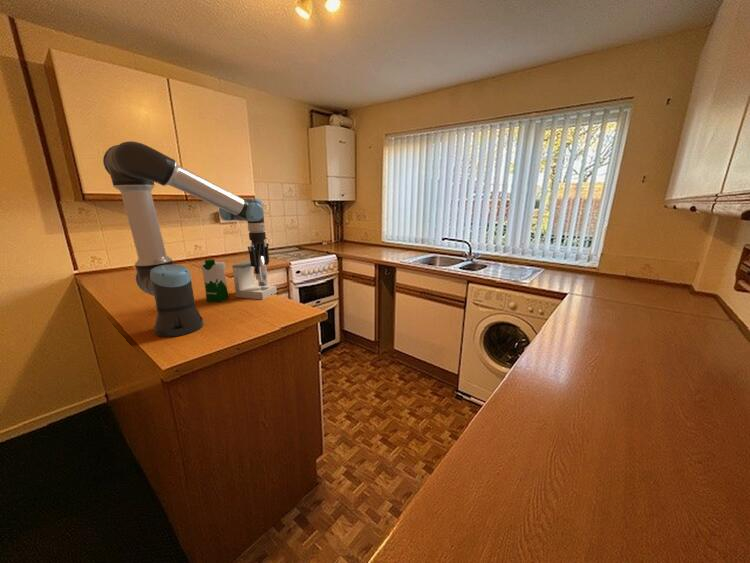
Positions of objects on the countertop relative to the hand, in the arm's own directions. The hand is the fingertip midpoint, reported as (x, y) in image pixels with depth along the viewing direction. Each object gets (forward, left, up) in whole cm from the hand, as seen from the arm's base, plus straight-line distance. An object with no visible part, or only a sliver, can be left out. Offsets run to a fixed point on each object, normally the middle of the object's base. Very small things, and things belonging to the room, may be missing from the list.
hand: (261, 278), depth 150 cm
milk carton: (-12, +17, -9) cm, 23 cm away
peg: (0, 0, -4) cm, 4 cm away
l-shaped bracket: (0, +4, -9) cm, 10 cm away
